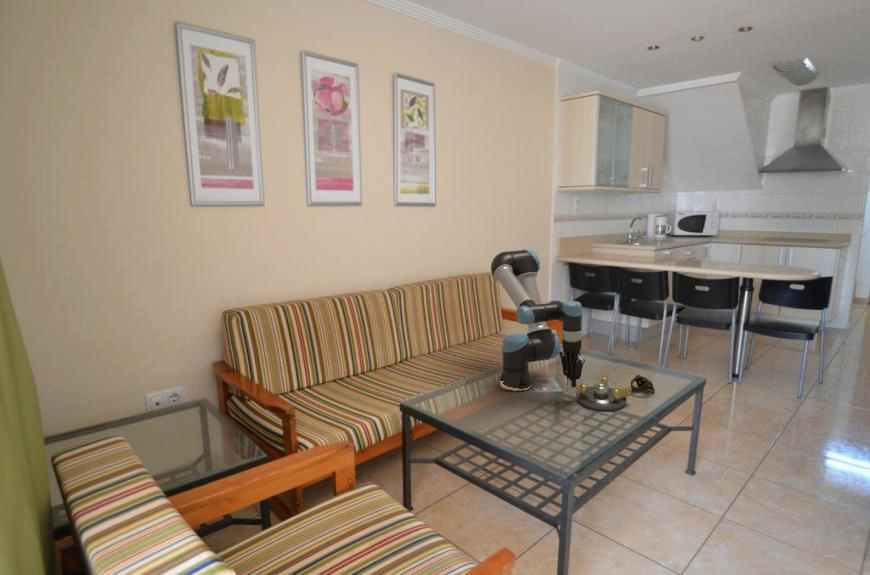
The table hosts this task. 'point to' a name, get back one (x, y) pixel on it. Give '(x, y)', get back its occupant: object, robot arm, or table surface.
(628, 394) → the knob
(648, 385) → the brown animal skull
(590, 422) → the table surface
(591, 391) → the tribrach
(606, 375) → the knob
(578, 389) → the knob
